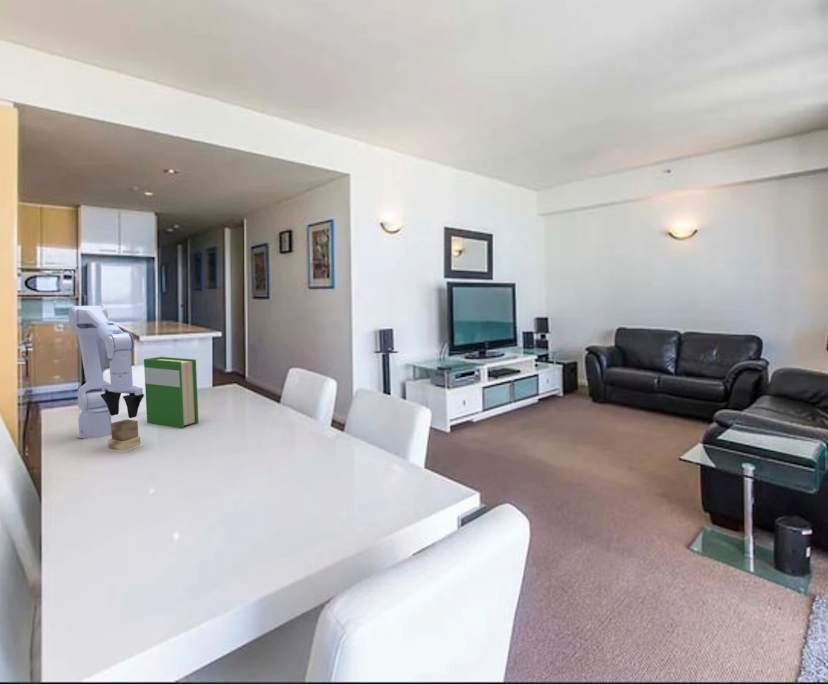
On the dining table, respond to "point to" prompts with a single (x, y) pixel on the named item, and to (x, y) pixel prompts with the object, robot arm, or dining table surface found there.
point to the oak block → (124, 444)
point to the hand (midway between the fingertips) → (123, 416)
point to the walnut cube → (124, 430)
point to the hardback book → (171, 391)
